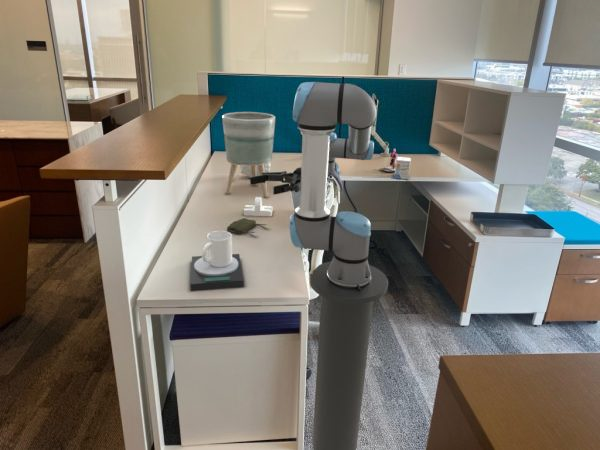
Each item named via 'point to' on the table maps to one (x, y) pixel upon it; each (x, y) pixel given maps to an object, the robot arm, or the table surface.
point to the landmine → (243, 226)
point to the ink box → (402, 167)
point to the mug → (218, 249)
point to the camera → (247, 169)
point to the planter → (248, 142)
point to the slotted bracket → (258, 209)
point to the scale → (216, 274)
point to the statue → (392, 163)
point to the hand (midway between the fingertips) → (261, 185)
